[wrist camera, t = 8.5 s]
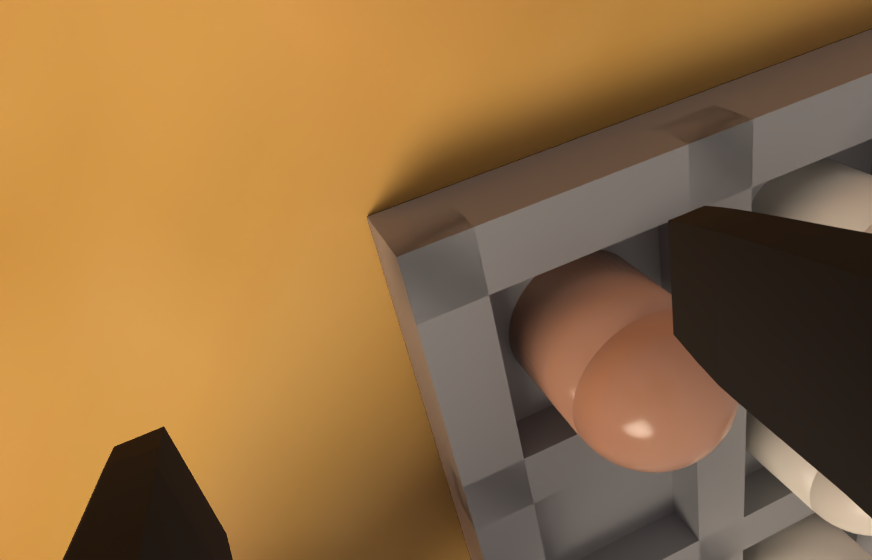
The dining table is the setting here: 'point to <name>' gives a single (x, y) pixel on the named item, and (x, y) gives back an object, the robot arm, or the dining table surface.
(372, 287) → the dining table surface
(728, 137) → the egg tray
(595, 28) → the dining table surface
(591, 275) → the terracotta egg
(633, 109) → the dining table surface
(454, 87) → the dining table surface
